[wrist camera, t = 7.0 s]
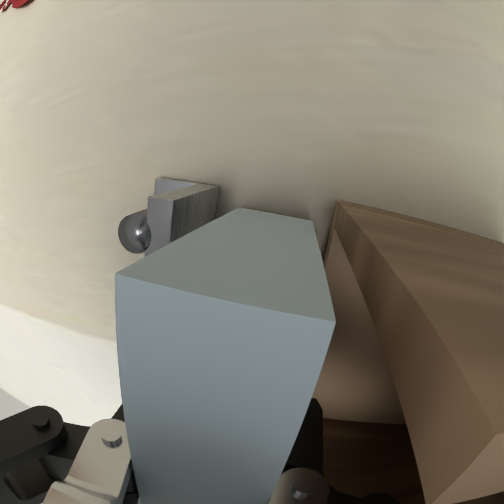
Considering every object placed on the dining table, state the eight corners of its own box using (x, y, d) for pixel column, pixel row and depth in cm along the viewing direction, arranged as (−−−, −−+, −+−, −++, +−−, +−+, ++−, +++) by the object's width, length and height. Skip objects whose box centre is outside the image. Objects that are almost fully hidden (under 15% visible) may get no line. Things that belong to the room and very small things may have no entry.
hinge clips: (160, 177, 14) (94, 189, 9) (219, 185, 13) (173, 200, 9) (153, 375, 17) (115, 431, 12) (197, 388, 17) (167, 451, 12)
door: (215, 203, 13) (64, 259, 4) (312, 220, 12) (336, 322, 4) (194, 393, 15) (125, 529, 7) (268, 410, 15) (236, 562, 6)
